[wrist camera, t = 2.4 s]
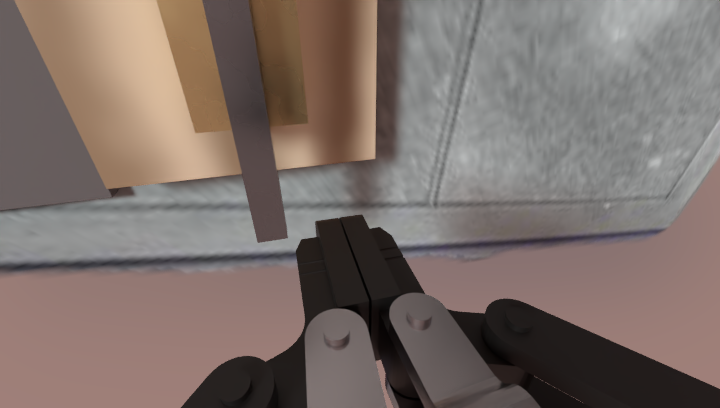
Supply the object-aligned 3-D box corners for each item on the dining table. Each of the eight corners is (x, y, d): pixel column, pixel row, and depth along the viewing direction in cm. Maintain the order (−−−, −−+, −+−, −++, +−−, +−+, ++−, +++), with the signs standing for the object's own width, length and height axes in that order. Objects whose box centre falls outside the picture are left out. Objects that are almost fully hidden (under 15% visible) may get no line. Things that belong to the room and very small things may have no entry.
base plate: (361, -170, 16) (379, -204, 13) (364, 143, 24) (375, 158, 21) (-38, -208, 12) (-115, -263, 10) (126, 167, 21) (106, 189, 18)
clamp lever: (148, -236, 11) (59, -420, 6) (238, -226, 12) (218, -386, 7) (247, 197, 20) (241, 253, 16) (295, 191, 21) (303, 243, 16)
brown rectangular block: (281, -79, 14) (285, -107, 11) (301, 103, 18) (308, 123, 15) (159, -84, 13) (122, -116, 10) (209, 109, 17) (195, 133, 14)
